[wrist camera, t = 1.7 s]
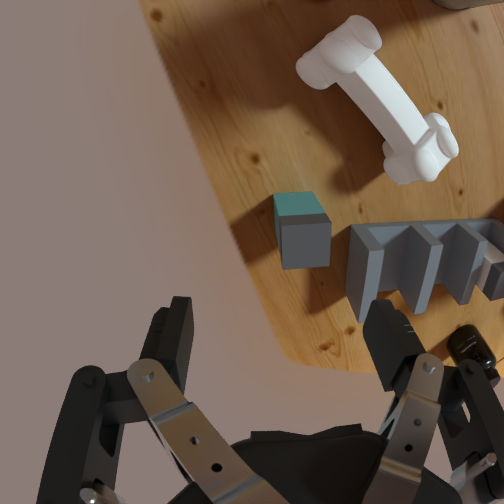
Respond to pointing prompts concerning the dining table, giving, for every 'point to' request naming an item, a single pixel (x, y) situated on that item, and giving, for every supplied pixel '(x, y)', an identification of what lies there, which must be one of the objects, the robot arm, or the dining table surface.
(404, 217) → the dining table surface
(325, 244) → the teal plug
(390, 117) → the bone shaped toy
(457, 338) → the supplement bottle
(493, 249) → the offwhite plug
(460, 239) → the grey piece
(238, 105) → the dining table surface
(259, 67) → the dining table surface
